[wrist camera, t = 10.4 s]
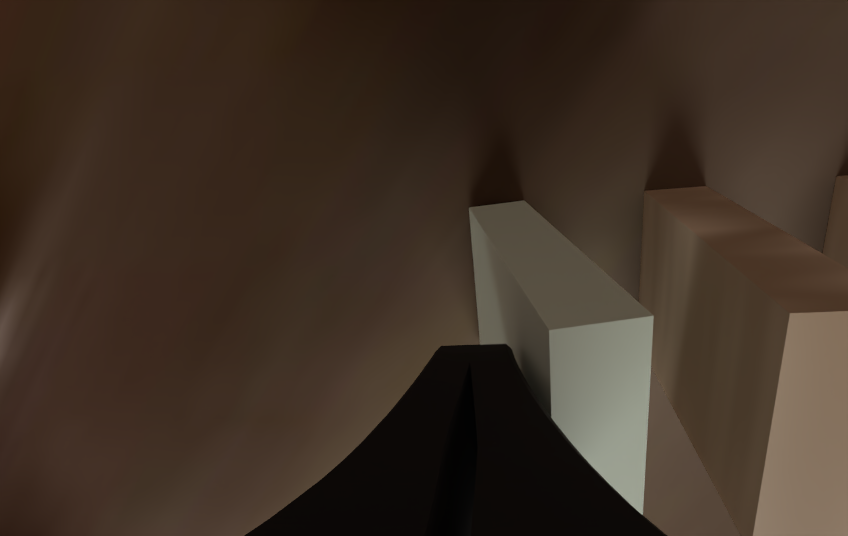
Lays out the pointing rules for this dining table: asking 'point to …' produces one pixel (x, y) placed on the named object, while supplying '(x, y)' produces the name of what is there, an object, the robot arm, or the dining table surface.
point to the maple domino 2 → (838, 224)
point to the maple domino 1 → (751, 358)
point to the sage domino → (567, 337)
